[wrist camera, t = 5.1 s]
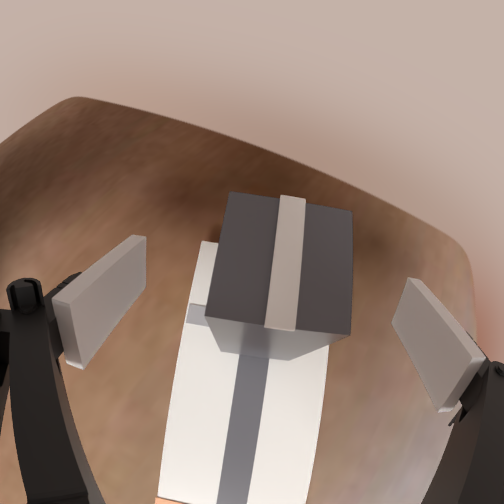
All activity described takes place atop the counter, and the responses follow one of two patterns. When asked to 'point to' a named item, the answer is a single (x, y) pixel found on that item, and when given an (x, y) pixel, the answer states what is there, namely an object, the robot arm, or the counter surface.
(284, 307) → the slider tab
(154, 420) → the counter surface
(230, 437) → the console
